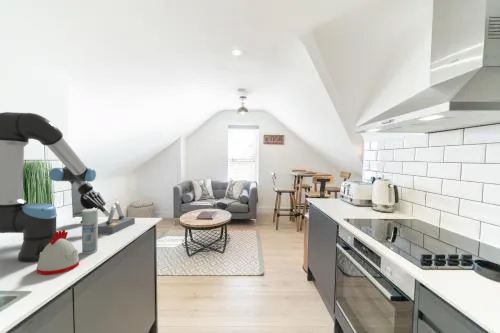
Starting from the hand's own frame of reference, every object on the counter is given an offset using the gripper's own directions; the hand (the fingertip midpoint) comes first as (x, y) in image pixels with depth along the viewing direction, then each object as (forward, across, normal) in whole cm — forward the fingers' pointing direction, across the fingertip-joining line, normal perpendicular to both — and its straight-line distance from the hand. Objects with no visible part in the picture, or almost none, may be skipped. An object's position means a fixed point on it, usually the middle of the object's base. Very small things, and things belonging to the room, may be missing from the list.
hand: (108, 214), depth 158 cm
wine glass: (-12, +19, +26) cm, 34 cm away
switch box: (+7, +7, +7) cm, 12 cm away
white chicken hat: (+16, -52, -2) cm, 54 cm away
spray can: (+16, -34, -2) cm, 37 cm away
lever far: (+4, +14, +4) cm, 15 cm away
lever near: (+4, 0, +4) cm, 6 cm away
